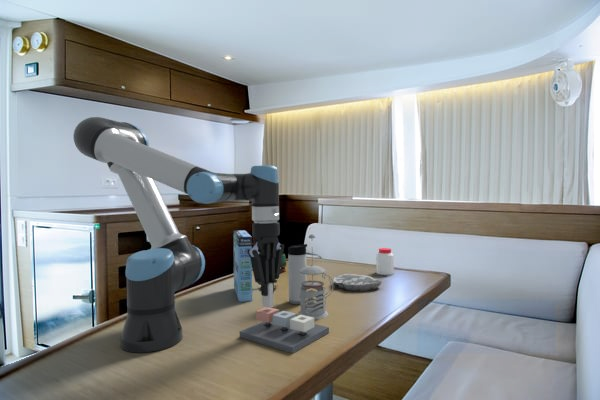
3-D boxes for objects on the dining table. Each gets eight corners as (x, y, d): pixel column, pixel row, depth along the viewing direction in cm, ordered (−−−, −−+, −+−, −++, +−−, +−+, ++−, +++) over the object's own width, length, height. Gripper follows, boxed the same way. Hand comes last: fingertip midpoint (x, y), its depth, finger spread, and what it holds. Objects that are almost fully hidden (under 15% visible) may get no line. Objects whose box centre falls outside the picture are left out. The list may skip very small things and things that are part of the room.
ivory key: (304, 338, 99) (304, 322, 98) (290, 334, 101) (290, 319, 101) (314, 332, 102) (314, 317, 102) (300, 329, 105) (300, 314, 105)
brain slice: (322, 286, 156) (322, 279, 156) (350, 279, 168) (350, 272, 168) (360, 296, 142) (360, 288, 142) (388, 287, 153) (388, 280, 153)
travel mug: (306, 305, 131) (305, 245, 131) (287, 304, 133) (286, 245, 132) (309, 299, 138) (308, 243, 137) (291, 298, 139) (290, 242, 138)
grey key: (285, 333, 102) (285, 317, 102) (272, 329, 105) (272, 314, 105) (296, 328, 106) (296, 313, 106) (283, 324, 108) (283, 310, 108)
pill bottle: (373, 272, 180) (373, 248, 179) (388, 270, 182) (388, 247, 181) (381, 275, 172) (381, 250, 172) (397, 274, 175) (397, 249, 174)
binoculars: (260, 252, 179) (272, 247, 188) (262, 275, 181) (274, 268, 189) (275, 254, 175) (288, 248, 183) (277, 277, 176) (289, 270, 184)
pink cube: (268, 328, 106) (268, 313, 106) (256, 325, 108) (256, 310, 108) (279, 323, 109) (279, 309, 109) (267, 320, 112) (267, 306, 112)
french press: (292, 311, 125) (291, 233, 124) (326, 307, 129) (325, 231, 128) (304, 321, 116) (302, 237, 115) (339, 316, 120) (338, 234, 119)
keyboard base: (292, 353, 94) (292, 347, 94) (239, 336, 104) (239, 331, 104) (329, 332, 106) (328, 327, 106) (278, 319, 117) (278, 314, 117)
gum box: (233, 288, 155) (232, 230, 154) (246, 287, 156) (245, 230, 155) (238, 302, 136) (237, 236, 135) (253, 301, 137) (252, 236, 136)
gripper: (259, 224, 100) (262, 315, 101) (291, 220, 111) (293, 302, 112) (239, 223, 105) (241, 310, 106) (271, 219, 115) (273, 298, 116)
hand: (268, 306), depth 109 cm, fingers closed
